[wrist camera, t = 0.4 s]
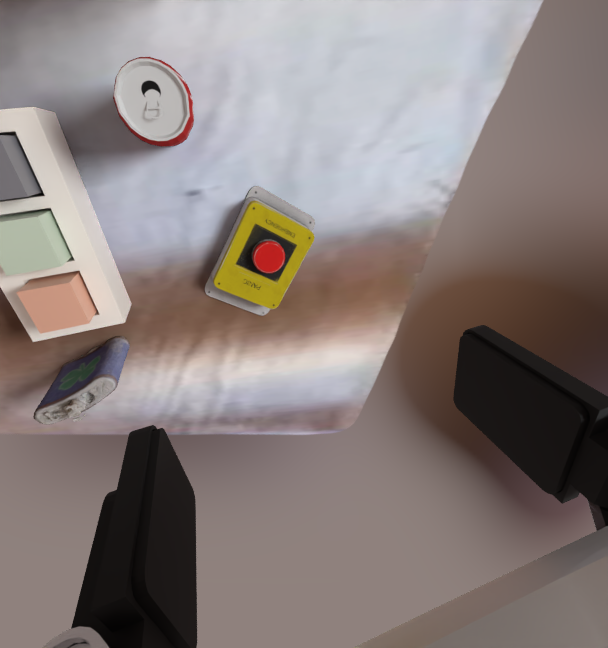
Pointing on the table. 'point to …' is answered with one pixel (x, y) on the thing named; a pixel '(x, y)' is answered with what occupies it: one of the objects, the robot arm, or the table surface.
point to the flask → (83, 382)
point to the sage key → (31, 242)
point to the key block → (62, 222)
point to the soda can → (154, 101)
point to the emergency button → (261, 253)
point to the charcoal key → (15, 170)
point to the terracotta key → (58, 301)
